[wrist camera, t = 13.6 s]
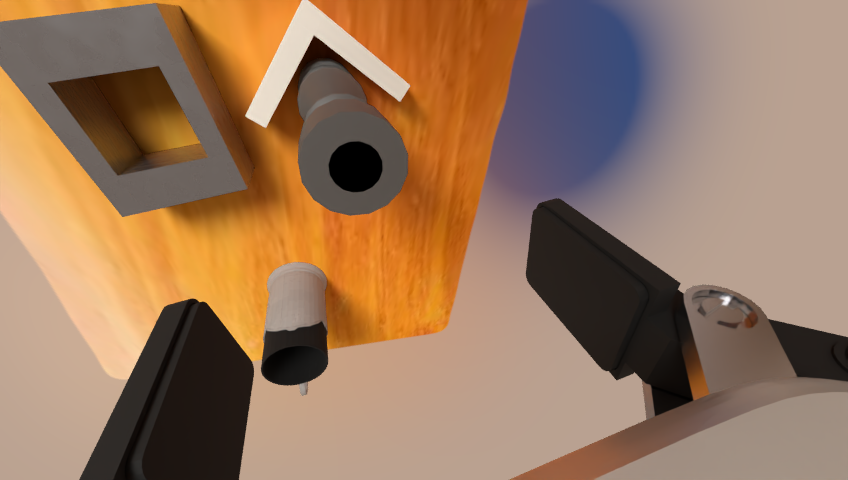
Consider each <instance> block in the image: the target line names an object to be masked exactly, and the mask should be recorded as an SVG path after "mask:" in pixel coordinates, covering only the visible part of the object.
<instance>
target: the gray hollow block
mask: <svg viewBox="0 0 848 480" xmlns="http://www.w3.org/2000/svg"><path fill="white" fill-rule="evenodd" d="M0 66H1V67H2V68H3V70H4V71H5V72H6V73H7V74H8V76H9V77H10V78H11V79H12V81H13V82H14V83H15V84H16V86H17V87H18V88H19V89H20V91H21V92H22V93H23V94H24V96H25V97H26V98H27V99H28V100H29V102H30V103H31V104H32V105H33V107H34V108H35V109H36V110H37V112H38V113H39V114H40V115H41V117H42V118H43V119H44V120H45V122H46V123H47V124H48V125H49V126H50V128H51V129H52V130H53V131H54V133H55V134H56V135H57V136H58V138H59V139H60V140H61V141H62V143H63V144H64V145H65V146H66V148H67V149H68V150H69V151H70V152H71V154H72V155H73V156H74V157H75V159H76V160H77V161H78V162H79V164H80V165H81V166H82V167H83V169H84V170H85V171H86V172H87V174H88V175H89V176H90V177H91V178H92V180H93V181H94V182H95V183H96V185H97V186H98V187H99V188H100V190H101V191H102V192H103V193H104V195H105V196H106V197H107V198H108V200H109V201H110V202H111V203H112V204H113V206H114V207H115V208H116V209H117V211H118V212H119V213H120V214H121V216H122V217H124V216H129V215H133V214H138V213H142V212H147V211H151V210H156V209H160V208H165V207H169V206H174V205H178V204H182V203H187V202H191V201H196V200H200V199H205V198H209V197H214V196H218V195H223V194H227V193H232V192H236V191H240V190H245V189H248V186H249V183H250V181H251V178H252V175H253V172H254V169H255V168H254V166H253V164H252V161H251V159H250V157H249V155H248V153H247V151H246V148H245V146H244V144H243V142H242V140H241V138H240V135H239V133H238V131H237V129H236V127H235V125H234V122H233V120H232V118H231V116H230V114H229V112H228V109H227V107H226V105H225V103H224V101H223V99H222V96H221V94H220V92H219V90H218V88H217V86H216V83H215V81H214V79H213V77H212V75H211V73H210V70H209V68H208V66H207V64H206V62H205V60H204V57H203V55H202V53H201V51H200V49H199V47H198V44H197V42H196V40H195V38H194V36H193V34H192V31H191V29H190V27H189V25H188V23H187V21H186V18H185V16H184V14H183V12H182V10H181V8H180V6H175V5H166V4H158V3H153V4H145V5H136V6H128V7H120V8H111V9H103V10H95V11H86V12H78V13H70V14H61V15H53V16H45V17H36V18H28V19H20V20H11V21H3V22H0ZM155 66H159V67H160V69H161V71H162V73H163V75H164V77H165V78H166V80H167V82H168V84H169V86H170V88H171V89H172V91H173V93H174V95H175V97H176V99H177V101H178V102H179V104H180V106H181V108H182V110H183V112H184V113H185V115H186V117H187V119H188V121H189V123H190V124H191V126H192V128H193V130H194V132H195V134H196V135H197V137H198V139H199V141H200V144H195V145H190V146H185V147H180V148H175V149H169V150H164V151H159V152H154V153H149V154H144V155H143V154H142V152H141V151H140V149H139V148H138V146H137V145H136V143H135V142H134V140H133V139H132V137H131V136H130V134H129V133H128V131H127V130H126V128H125V127H124V125H123V124H122V122H121V121H120V119H119V118H118V116H117V115H116V113H115V112H114V110H113V109H112V107H111V106H110V104H109V103H108V101H107V100H106V98H105V97H104V95H103V94H102V92H101V91H100V89H99V88H98V86H97V85H96V83H95V82H94V80H93V79H92V77H91V76H96V75H103V74H109V73H116V72H122V71H129V70H136V69H142V68H149V67H155Z"/></svg>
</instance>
